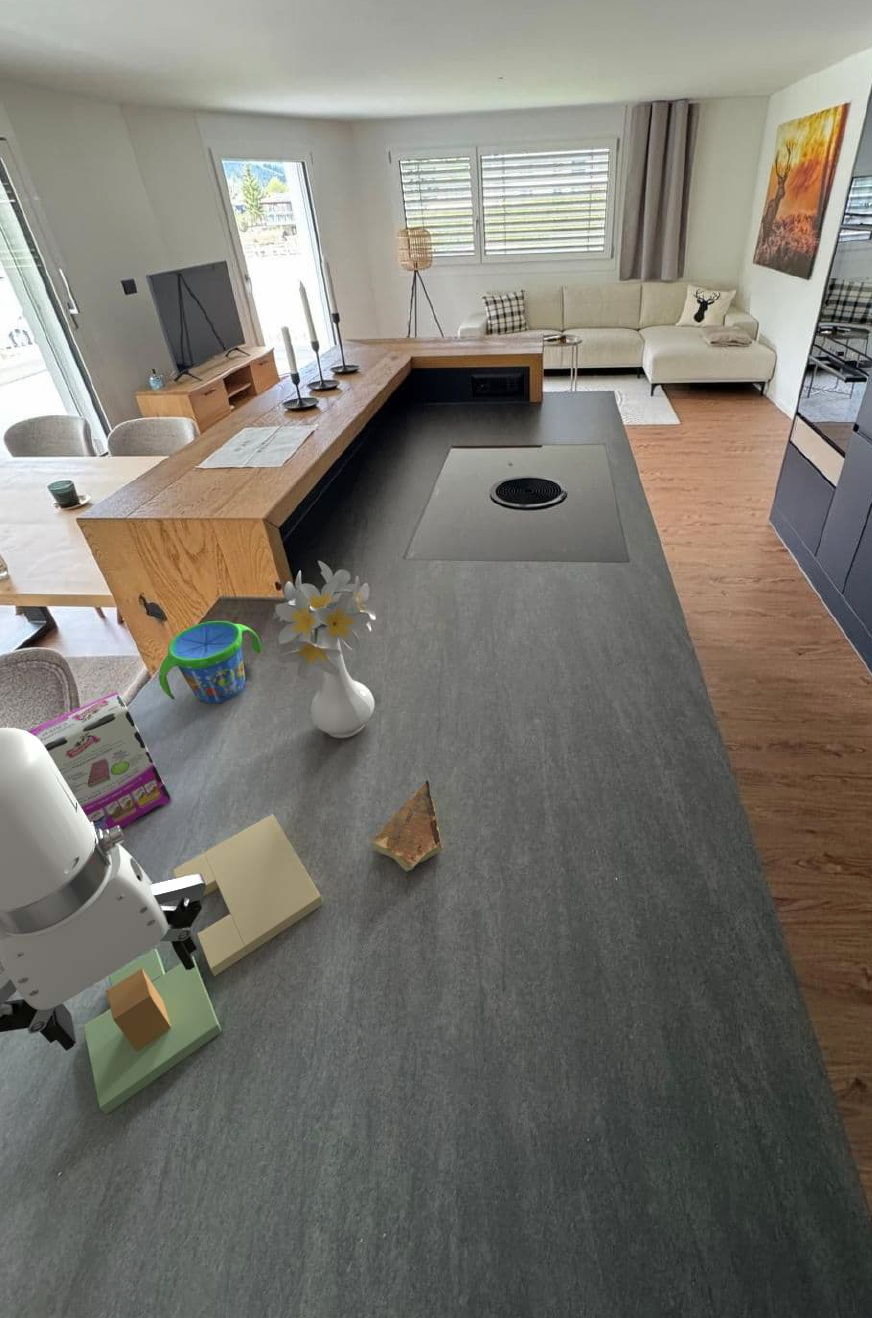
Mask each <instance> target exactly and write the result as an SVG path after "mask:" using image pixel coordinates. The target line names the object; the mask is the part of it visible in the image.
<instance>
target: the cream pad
mask: <svg viewBox="0 0 872 1318" xmlns="http://www.w3.org/2000/svg"><path fill="white" fill-rule="evenodd" d="M172 873H173V875H174V879H178V878H182V877H186V876H190V875H194V874H202V876H203V879H204V881H205V883H206V889H205V892H204V896H203V898H205V897H206V896H208V895H210V894H211V893H212V892H215V891H216V890H219V891H220V894H221V896H222V899H223V901H224V903H225V905H226V907H227V909H228V912H229V914H227V915H225V916H224V917H222V918H221V919H219V920H218V921H216V922H214V923H213V924H211V925H209V926H208V927H206V928H204V929H203V930H202V931H200V932H198V933H197V934H196V935H197V938H198V940H199V943H200V946H201V948H202V952H203V954H204V956H205V959H206V961H207V964H208V967H209V970H210V971H211V973H212V975H213V977H216V976H217V975H219V974H220V973H222V972H223V971H225V970H226V969H228V968H230V967H231V966H232V965H234V964H236V963H237V962H238V961H239V960H241V959H243V958H244V957H245V956H247V955H249V954H250V953H252V952H253V951H255V950H256V949H258V948H259V947H261V946H262V945H264V944H265V943H267V942H268V941H270V940H271V939H273V938H274V937H276V936H277V935H279V934H281V933H282V932H283V931H285V930H286V929H288V928H289V927H291V926H292V925H294V924H295V923H297V922H298V921H300V920H301V919H303V918H304V917H306V916H308V915H309V914H310V913H312V912H314V911H315V910H316V909H317V908H319V907H321V906H322V905H323V904H324V902H323V898H322V896H321V894H320V892H319V890H318V889H317V887H316V885H315V884H314V883H315V882H313V880H312V878H311V877H310V875H309V873H308V872H307V870H306V867H304V864H303V863H302V862H301V860H300V858H299V856H298V854H297V853H296V851H295V849H294V848H293V845H292V844H291V843H290V841H289V839H288V838H287V836H286V834H285V832H284V831H283V829H282V827H281V826H280V824H279V822H278V821H277V819H276V817H275V815H274V814H273V813H271V814H270V815H268V816H266V817H265V818H262V819H261V820H259V821H258V822H255V823H253V824H252V825H250V826H248V827H246V828H245V829H243V830H241V831H240V832H237V833H236V834H234V835H233V836H231V837H229V838H227V839H225V840H224V841H222V842H220V843H218V844H216V845H215V846H213V847H211V848H209V849H208V850H206V851H204V852H203V853H201V854H199V855H197V856H195V857H193V858H191V859H190V860H188V861H187V862H184V863H183V864H181V865H179V866H177V867H176V868H174V869H173V870H172Z"/></svg>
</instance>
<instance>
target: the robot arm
mask: <svg viewBox="0 0 872 1318" xmlns="http://www.w3.org/2000/svg"><path fill="white" fill-rule="evenodd" d="M27 731H28V730H24V729H21V728H16V727H0V963H1V965H2V967H3V969H4V971H3V972H2V973H1V974H0V1033H5V1032H11V1031H16V1030H17V1031H18V1030H23V1029H27V1031H28V1033H29V1034H37V1033H40V1034H41V1035H43V1037H44V1038H45V1039H46V1040H47V1041H48V1042H49V1043H50V1044H52V1043H54V1042H58V1044H59V1045H60V1046H61V1047H62V1048H63V1049H64V1050H65V1051H66V1052H68V1051H69V1050H71V1049H72V1048H73V1047H75V1044H77V1039H76V1033H75V1028H74V1022H73V1016H72V1014H71V1012H70V1010H69V1009H68V1008H67V1007H66V1006H65V1005H64V1003H65V1002H67V1001H69V1000H70V999H72V998H74V997H75V996H77V995H80V993H82V992H84V991H85V990H87V989H89V988H90V987H92V986H94V985H95V984H97V983H99V982H100V981H102V980H103V979H105V978H107V977H108V976H111V974H114V973H115V972H117V971H119V970H120V969H122V968H123V967H125V966H127V965H128V964H130V963H131V962H133V961H135V959H138V957H140V956H141V955H144V954H146V952H148V951H149V950H150V949H152V948H154V947H155V946H156V945H158V944H159V943H160V942H171V945H172V948H173V950H174V952H175V954H176V955H177V957H178V959H179V961H180V963H182V964H183V966H184V967H185V969H186V971H187V970H188V969H189V970H191V969H192V968H194V967H195V964H194V962H193V959H192V956H193V955H192V953H195V951H197V950H198V945H197V944H196V941H195V939H194V936H193V935H192V930H191V927H192V925H193V923H195V920H196V919H197V917H198V916H199V914H200V912H201V910H202V901H203V900H204V897H205V896H204V892H205V889H206V883H205V881H204V879H203V876H202V874H194V875H190V876H186V877H182V878H178V879H176V878H174V879H169V880H166V881H161V882H157V883H153V882H152V881H151V879H150V878H149V876H148V874H147V873H146V872H145V871H144V869H143V868H142V867H141V865H140V864H139V863H138V862H137V860H135V858H134V857H133V856H132V855H131V853H129V852H128V851H127V850H126V849H125V848H124V847H123V846H122V845H121V843H123V842H125V841H126V837H125V835H124V832H123V830H122V828H120V826H119V825H117V826H115V827H113V828H111V829H109V830H108V829H105V830H103V831H102V830H101V829H100V828H99V829H96V827H95V825H94V824H93V822H91V823H90V821H89V820H88V818H87V816H86V815H85V813H84V811H83V810H82V808H81V806H80V805H79V803H78V801H77V800H76V798H75V796H74V795H73V793H72V791H71V790H70V788H69V786H68V785H67V783H66V781H65V780H64V778H63V776H62V775H61V773H60V771H59V770H58V768H57V766H56V765H55V763H54V761H53V760H52V758H51V756H50V755H49V753H48V751H47V750H46V748H45V746H44V745H43V744H42V743H41V741H40V740H39V739H38V738H37V737H35V736H34V735H32V734H31V733H29V732H27ZM203 896H204V897H203ZM178 900H179V903H178V905H177V906H176V905H175V906H173V905H163V904H167V903H170V902H174V901H178ZM16 992H18V993H19V995H20V996H21V997H22V998H20V999H14V1000H9V999H10V998H11V997H12V996H13V995H14V994H15V993H16Z"/></svg>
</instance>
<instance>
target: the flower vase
mask: <svg viewBox="0 0 872 1318" xmlns="http://www.w3.org/2000/svg"><path fill="white" fill-rule="evenodd" d="M317 563H318V566H319V568H320V569H321V571H320V574H321V575H322V577H323V579H324V580H325V583H326V584H324V585H323V586H322V588H321V590H320V591H319V589H318V588H317V587H316V586H315V585H314V584H311V583H305V582H304V583H302V572H301V570H299V571H298V573H297V575H296V578H295V582H294V583H295V584H293V583H292V582H291V581H287V582H286V583H285V585H284V589H283V595H284V598H285V600H287V602H283V603H277V604H276V605H275V608H274V609H275V612H274V613H273V615H272V619H276V618H279V622H280V623H281V622H282V621H285V622H288V623H289V624H287V625H285V626H284V627H283V628H282V629H281V631H280V632H279V635H278V637H277V640H278V642H279V644H280V645H286V644H289V643H290V642H292V641H293V640H294V639H296V638H297V637H298V641H297V642H296V647H297V649H295V650H292V651H288V652H285V653H282V654H280V655H279V656H278V657H277V660H278V661H280V662H283V663H296V662H299V663H298V666H297V669H296V675H297V676H298V677H299V678H300V679H307V678H309V677H311V675H313V673H314V672H315V671H316V667H317V665H318V668H320V670H321V672H322V684H321V687H320V688H319V690H318V691H316V693H315V694H314V696H313V697H312V700H311V702H310V706H309V716H310V721H311V722H312V724H313V725H314V726H315V728H317V729H318V730H320V731H321V732H323V733H326V734H327V735H328V736H330V737H333V738H336V739H347V738H350V737H354V736H355V735H358V734H359V733H361V731H362V730H363V729H364V728H365V726H366V724H367V723H368V721H369V720H370V718H371V717H372V716H373V713H374V711H375V705H376V704H375V699H374V696H373V693H372V692H371V690H370V689H369V688H368V686H366V685H365V684H363V683H361V682H359V681H358V680H354V679H353V678H352V677H351V675H350V674H349V672H348V669H347V667H346V664H345V660H344V656H343V651H342V647H341V642H342V643H343V645H345V647H347V649H349V650H350V651H353V652H357V651H359V650H360V648H361V642H360V638H359V637H358V635H357V633H356V632H355V631H354V630H353V629H359V628H362V627H364V626H365V627H366V628H367V630H368V631H369V632H372V627H371V623H370V621H371V620H372V621H376V619H377V615H376V613H375V610H374V609H373V608H372V607H371V605H370V604H367V603H365V602H367V600H368V598H369V595H370V587H369V584H368V583H367V582H365V583H363V585H362V586H361V582H360V579H359V576H358V575H356V577H355V582H354V583H349V581H350V580H351V574H350V572H349V571H347V570H346V569H339V570H337V571H336V572H335V573H334V574H333V571H332V570H331V568H330V567H329V566H328V565H327V564H325V563H324V562H323V561H322V560H317ZM294 585H295V586H294ZM350 593H352V595H350ZM335 603H336V604H335ZM334 604H335V606H334V607H335V608H334V610H332V609H331V608H328V607H330V606H332V605H334ZM350 611H352V612H350ZM312 636H313V638H312ZM312 639H313V640H312ZM340 640H341V642H340Z"/></svg>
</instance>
